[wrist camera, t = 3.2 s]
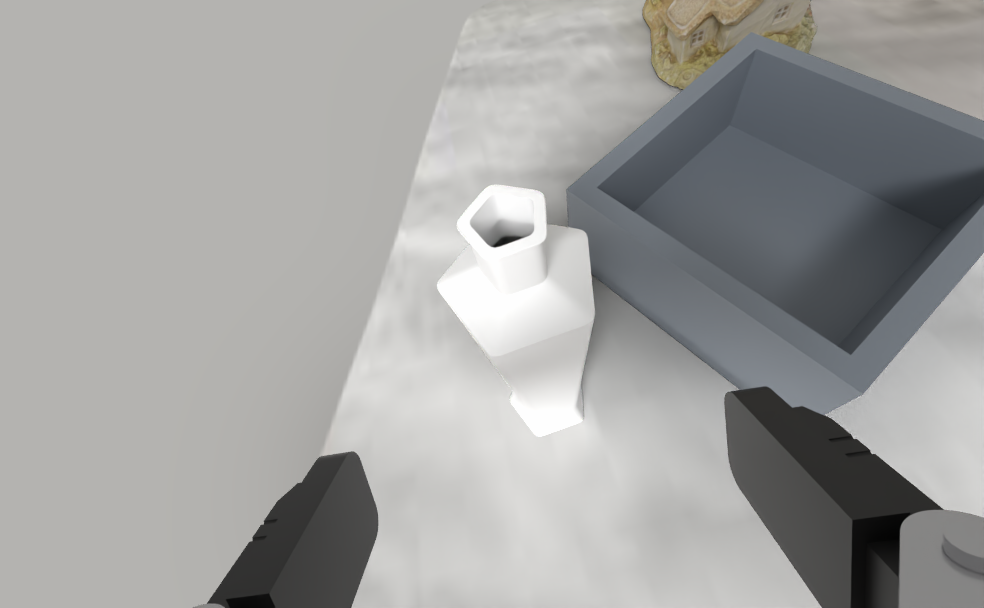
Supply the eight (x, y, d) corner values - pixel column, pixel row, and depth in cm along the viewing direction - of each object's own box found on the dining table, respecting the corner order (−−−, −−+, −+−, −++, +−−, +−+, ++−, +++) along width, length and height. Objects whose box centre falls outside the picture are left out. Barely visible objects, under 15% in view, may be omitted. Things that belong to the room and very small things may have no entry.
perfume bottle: (502, 358, 25) (413, 156, 12) (584, 354, 24) (584, 135, 11) (502, 444, 23) (394, 315, 10) (592, 443, 22) (602, 301, 9)
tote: (721, 121, 30) (751, 32, 25) (961, 239, 24) (1068, 153, 18) (570, 257, 27) (566, 189, 22) (793, 431, 21) (862, 394, 16)
